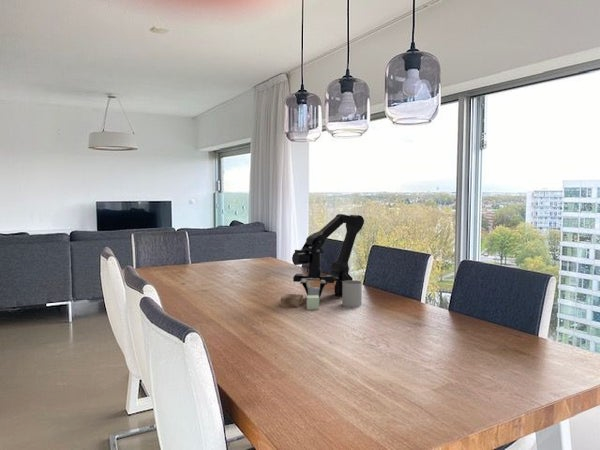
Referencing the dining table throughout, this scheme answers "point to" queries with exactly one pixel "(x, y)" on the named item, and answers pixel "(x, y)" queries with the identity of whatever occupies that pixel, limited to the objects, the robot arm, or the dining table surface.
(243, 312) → the dining table surface
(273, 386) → the dining table surface
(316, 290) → the grey cube
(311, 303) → the sage cube
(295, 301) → the walnut base
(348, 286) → the cup
